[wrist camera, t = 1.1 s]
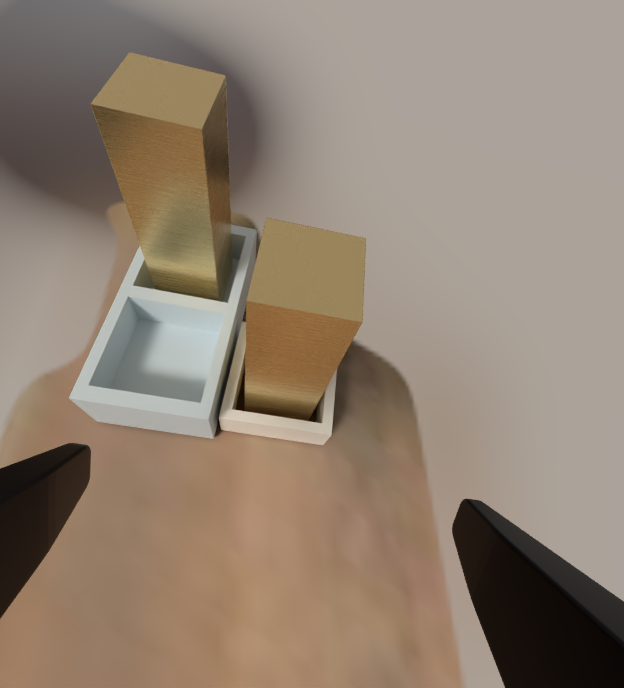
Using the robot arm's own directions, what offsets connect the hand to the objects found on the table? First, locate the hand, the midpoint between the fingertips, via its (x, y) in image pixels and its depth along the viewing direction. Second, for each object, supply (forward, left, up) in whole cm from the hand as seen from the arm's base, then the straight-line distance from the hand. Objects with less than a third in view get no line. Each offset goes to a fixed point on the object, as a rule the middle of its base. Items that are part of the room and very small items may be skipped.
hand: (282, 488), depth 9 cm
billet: (+8, 0, -13) cm, 15 cm away
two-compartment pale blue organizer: (+11, +7, -13) cm, 18 cm away
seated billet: (+14, +7, -12) cm, 20 cm away
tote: (+8, 0, -13) cm, 15 cm away
